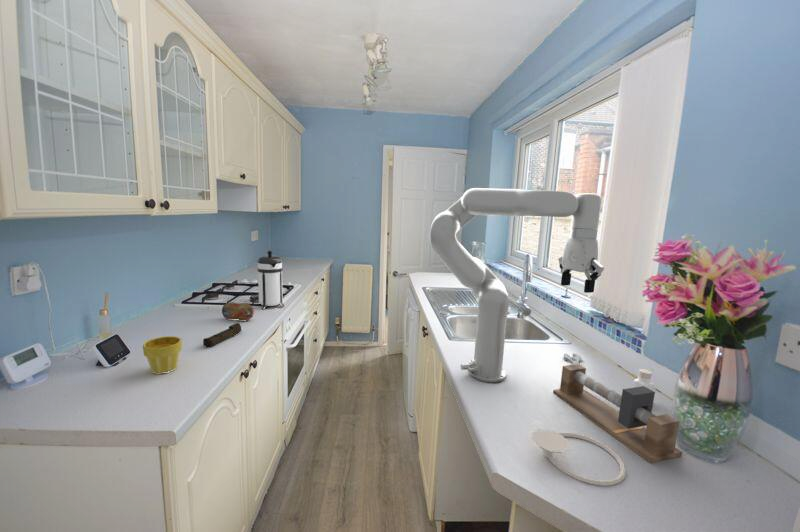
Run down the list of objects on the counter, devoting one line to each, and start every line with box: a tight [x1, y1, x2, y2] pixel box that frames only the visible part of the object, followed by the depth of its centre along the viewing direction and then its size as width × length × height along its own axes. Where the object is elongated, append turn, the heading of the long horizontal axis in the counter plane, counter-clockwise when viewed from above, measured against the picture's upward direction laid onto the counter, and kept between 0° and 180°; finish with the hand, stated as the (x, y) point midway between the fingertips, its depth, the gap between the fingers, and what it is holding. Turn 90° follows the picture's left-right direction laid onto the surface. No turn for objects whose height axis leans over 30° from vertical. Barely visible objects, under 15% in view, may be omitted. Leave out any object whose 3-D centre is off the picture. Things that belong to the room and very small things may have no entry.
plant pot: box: [142, 335, 183, 373], centre depth 116 cm, size 10×10×10 cm
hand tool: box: [202, 322, 242, 348], centre depth 144 cm, size 19×4×5 cm, turn 163°
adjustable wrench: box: [562, 352, 582, 365], centre depth 130 cm, size 25×6×2 cm, turn 160°
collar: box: [618, 386, 656, 429], centre depth 91 cm, size 7×3×9 cm, turn 107°
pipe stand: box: [552, 363, 683, 464], centre depth 98 cm, size 10×32×9 cm, turn 17°
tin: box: [221, 302, 255, 322], centre depth 168 cm, size 15×3×8 cm, turn 80°
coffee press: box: [256, 250, 285, 308], centre depth 191 cm, size 17×16×30 cm
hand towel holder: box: [531, 428, 627, 487], centre depth 83 cm, size 17×4×21 cm
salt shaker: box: [632, 368, 654, 391], centre depth 109 cm, size 4×4×10 cm
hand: (576, 288), depth 113 cm, fingers open, 9 cm apart
